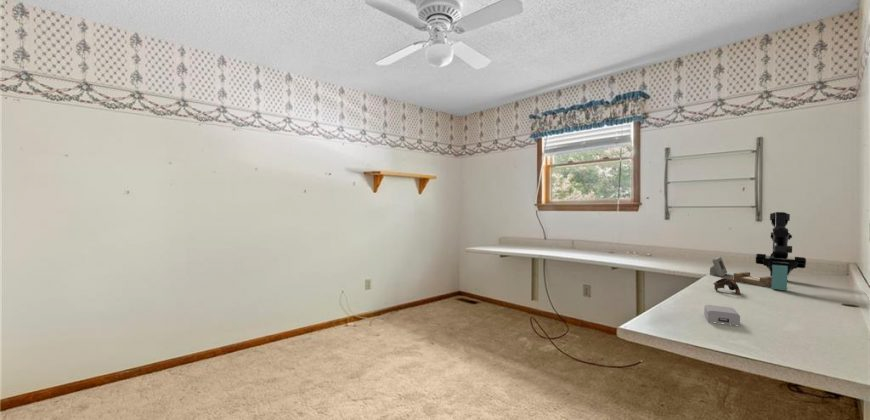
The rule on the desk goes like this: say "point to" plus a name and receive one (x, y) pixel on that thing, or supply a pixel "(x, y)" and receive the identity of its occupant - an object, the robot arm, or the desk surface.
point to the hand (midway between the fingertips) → (779, 273)
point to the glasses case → (779, 277)
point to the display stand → (752, 279)
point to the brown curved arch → (728, 282)
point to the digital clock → (718, 267)
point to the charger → (721, 315)
